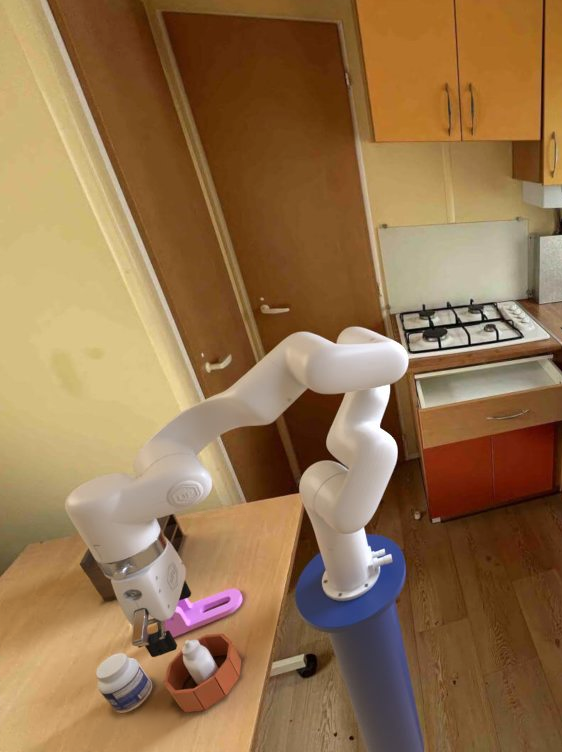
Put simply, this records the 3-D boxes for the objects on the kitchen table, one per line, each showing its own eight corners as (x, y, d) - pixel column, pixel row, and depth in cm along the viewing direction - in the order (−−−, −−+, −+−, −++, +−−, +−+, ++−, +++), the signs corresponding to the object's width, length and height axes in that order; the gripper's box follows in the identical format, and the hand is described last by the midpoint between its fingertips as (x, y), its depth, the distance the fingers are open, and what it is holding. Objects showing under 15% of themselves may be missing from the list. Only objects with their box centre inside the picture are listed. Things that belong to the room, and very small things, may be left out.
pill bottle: (111, 698, 75) (86, 667, 71) (148, 673, 79) (127, 642, 74) (118, 721, 72) (92, 690, 68) (156, 694, 76) (134, 663, 71)
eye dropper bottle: (224, 660, 81) (203, 621, 75) (223, 688, 76) (201, 649, 71) (197, 672, 79) (173, 633, 73) (194, 702, 74) (169, 663, 69)
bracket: (167, 639, 84) (154, 618, 81) (171, 616, 89) (159, 594, 85) (242, 609, 90) (232, 588, 87) (242, 588, 94) (233, 567, 91)
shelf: (185, 536, 107) (168, 501, 102) (171, 581, 96) (150, 544, 90) (127, 552, 103) (105, 516, 98) (104, 601, 92) (79, 564, 86)
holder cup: (243, 643, 84) (234, 624, 81) (236, 697, 75) (226, 678, 72) (185, 664, 80) (173, 646, 77) (170, 723, 72) (157, 705, 69)
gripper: (146, 590, 56) (188, 665, 64) (178, 504, 71) (209, 573, 78) (74, 611, 54) (126, 687, 61) (122, 517, 68) (160, 588, 75)
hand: (173, 623), depth 70 cm, fingers open, 9 cm apart
